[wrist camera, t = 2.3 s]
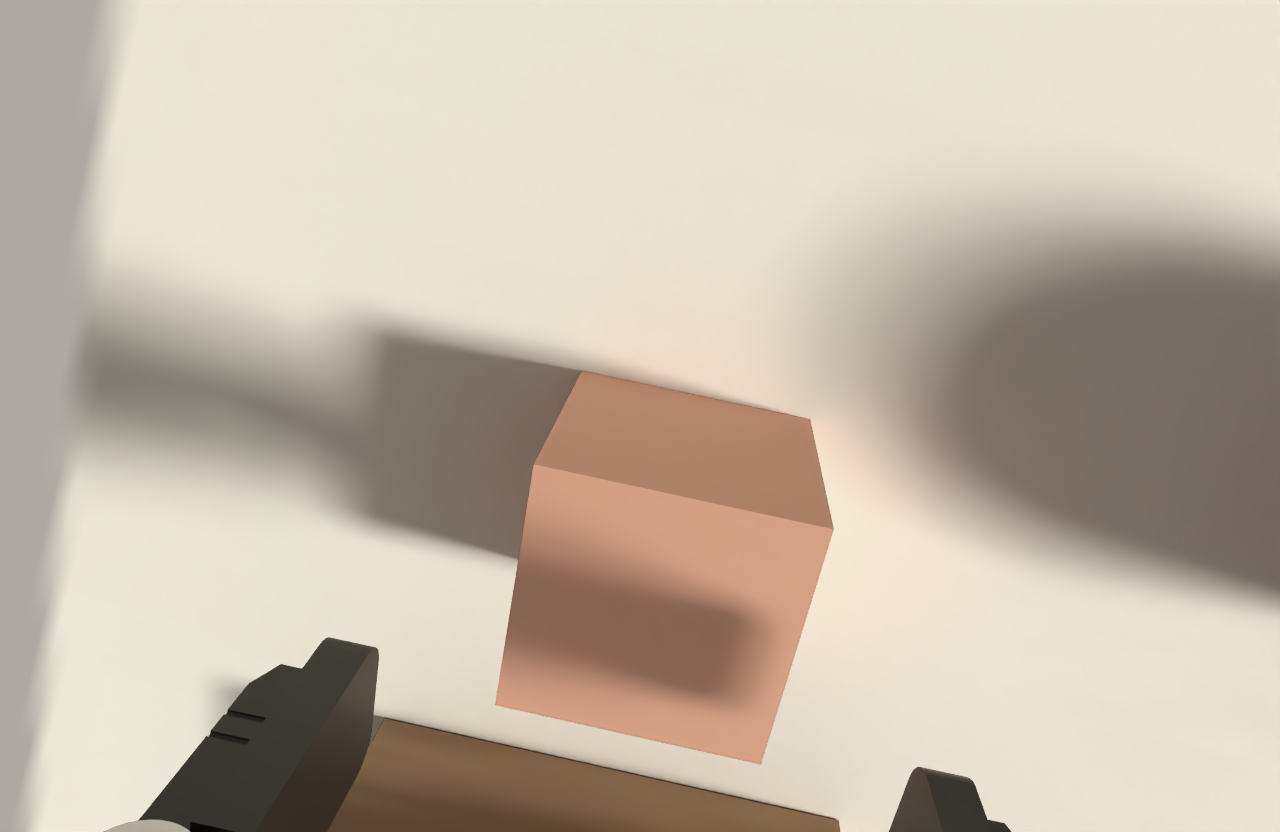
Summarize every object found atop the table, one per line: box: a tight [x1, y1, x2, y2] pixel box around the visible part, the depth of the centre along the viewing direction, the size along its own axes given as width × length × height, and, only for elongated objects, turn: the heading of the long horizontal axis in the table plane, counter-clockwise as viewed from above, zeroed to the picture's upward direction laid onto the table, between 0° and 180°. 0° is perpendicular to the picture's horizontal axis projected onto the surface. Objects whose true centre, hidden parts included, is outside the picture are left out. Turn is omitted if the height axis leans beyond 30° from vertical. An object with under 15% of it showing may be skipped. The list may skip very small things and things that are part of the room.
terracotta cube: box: [495, 371, 834, 764], centre depth 18 cm, size 5×5×5 cm
